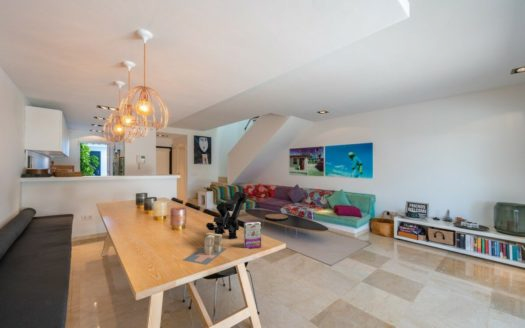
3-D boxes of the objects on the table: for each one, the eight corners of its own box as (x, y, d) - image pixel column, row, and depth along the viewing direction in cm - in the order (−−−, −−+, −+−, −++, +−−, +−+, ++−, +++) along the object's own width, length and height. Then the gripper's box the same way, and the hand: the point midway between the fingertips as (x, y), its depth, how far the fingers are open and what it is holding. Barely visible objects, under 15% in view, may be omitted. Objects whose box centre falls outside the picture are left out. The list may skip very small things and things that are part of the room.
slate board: (205, 246, 144) (206, 245, 144) (227, 249, 139) (227, 248, 139) (182, 261, 121) (182, 260, 121) (206, 265, 116) (206, 264, 116)
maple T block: (208, 248, 139) (208, 232, 139) (221, 250, 136) (221, 234, 136) (199, 253, 131) (200, 237, 131) (214, 255, 128) (214, 239, 128)
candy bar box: (259, 245, 148) (259, 221, 148) (261, 247, 143) (261, 223, 143) (243, 246, 145) (243, 222, 145) (244, 249, 140) (245, 224, 140)
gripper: (207, 210, 146) (197, 231, 136) (232, 213, 140) (223, 234, 130) (213, 219, 154) (204, 239, 143) (237, 222, 148) (229, 243, 137)
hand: (215, 239), depth 138 cm, fingers closed, pressing on maple T block
